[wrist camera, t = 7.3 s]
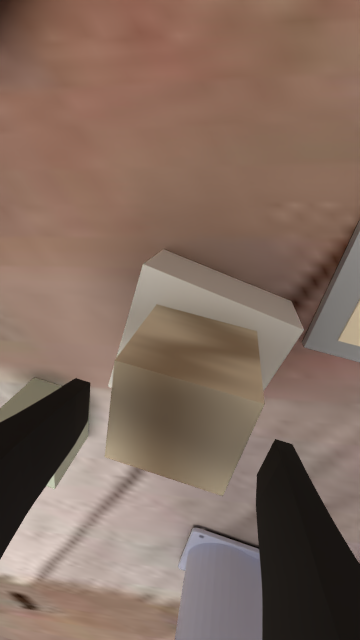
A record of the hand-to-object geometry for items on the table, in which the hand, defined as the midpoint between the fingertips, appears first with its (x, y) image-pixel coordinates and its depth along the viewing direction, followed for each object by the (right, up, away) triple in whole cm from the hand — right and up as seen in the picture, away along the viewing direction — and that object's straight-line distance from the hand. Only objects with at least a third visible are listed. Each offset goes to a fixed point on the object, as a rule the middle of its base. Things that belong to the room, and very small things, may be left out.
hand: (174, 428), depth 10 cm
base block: (+2, +4, +8) cm, 9 cm away
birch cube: (+1, +2, +4) cm, 5 cm away
